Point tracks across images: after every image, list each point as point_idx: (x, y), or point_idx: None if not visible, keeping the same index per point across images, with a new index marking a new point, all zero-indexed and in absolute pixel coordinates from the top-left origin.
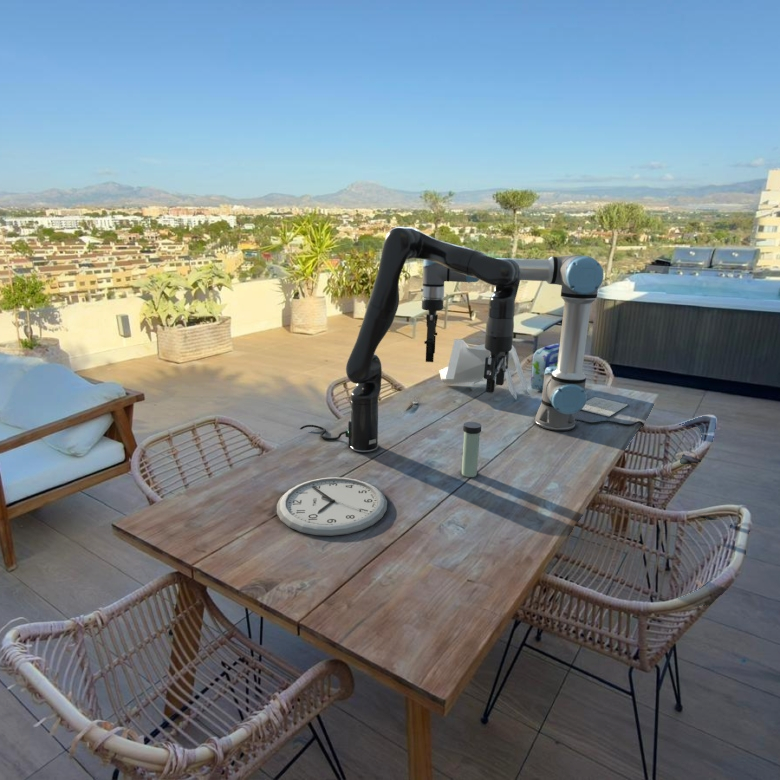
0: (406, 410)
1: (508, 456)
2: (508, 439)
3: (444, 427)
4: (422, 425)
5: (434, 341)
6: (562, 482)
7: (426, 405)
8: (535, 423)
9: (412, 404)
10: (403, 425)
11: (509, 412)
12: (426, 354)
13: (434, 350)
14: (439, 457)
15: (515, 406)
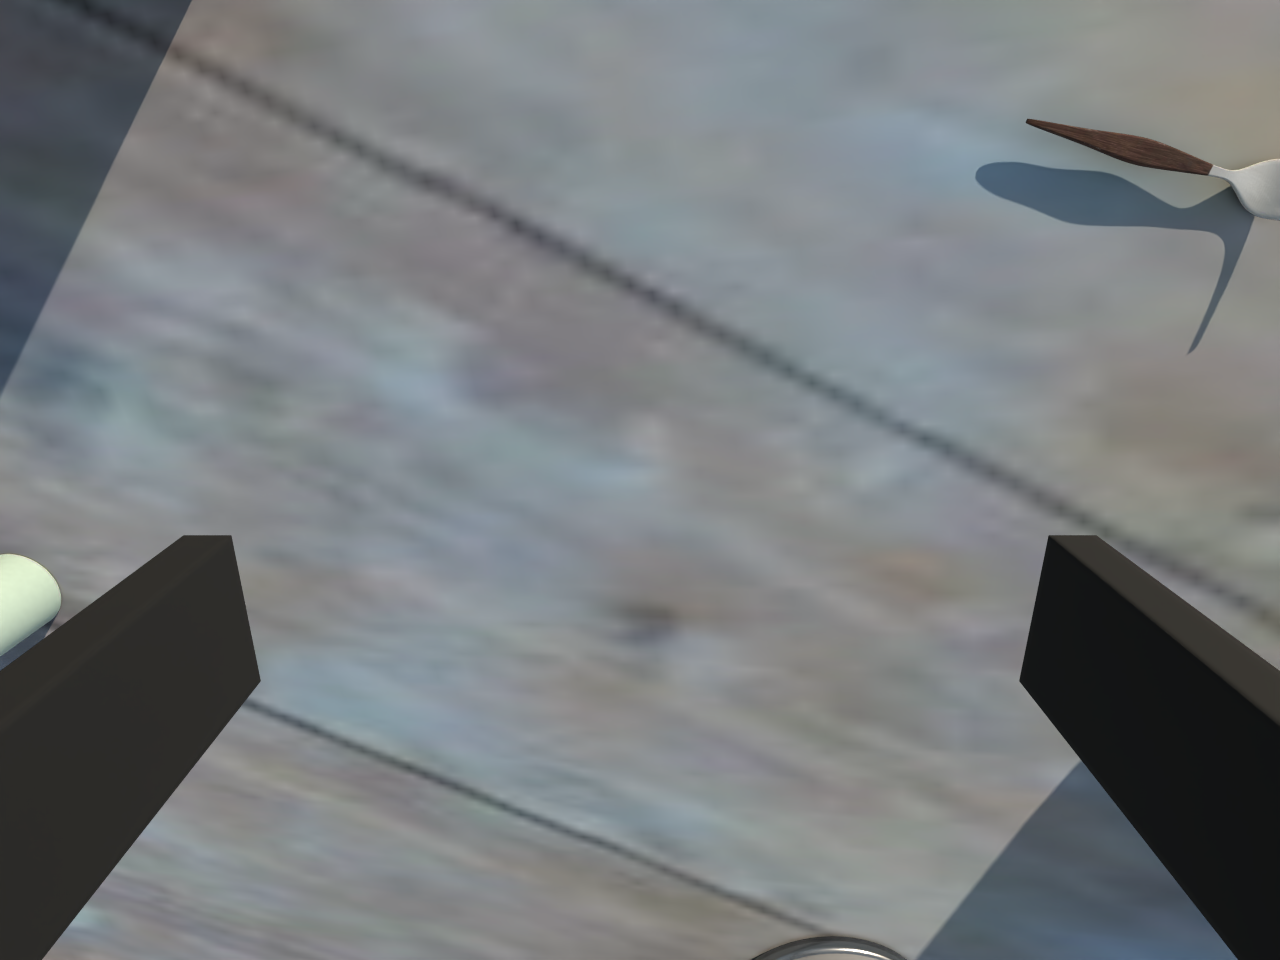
0: (1027, 122)
1: (319, 778)
2: (558, 796)
3: (695, 450)
4: (714, 288)
5: (1205, 895)
6: (111, 945)
7: (1194, 294)
8: (813, 939)
9: (1189, 166)
10: (694, 128)
11: (1014, 835)
12: (66, 638)
13: (1050, 714)
14: (174, 430)
15: (1129, 874)
